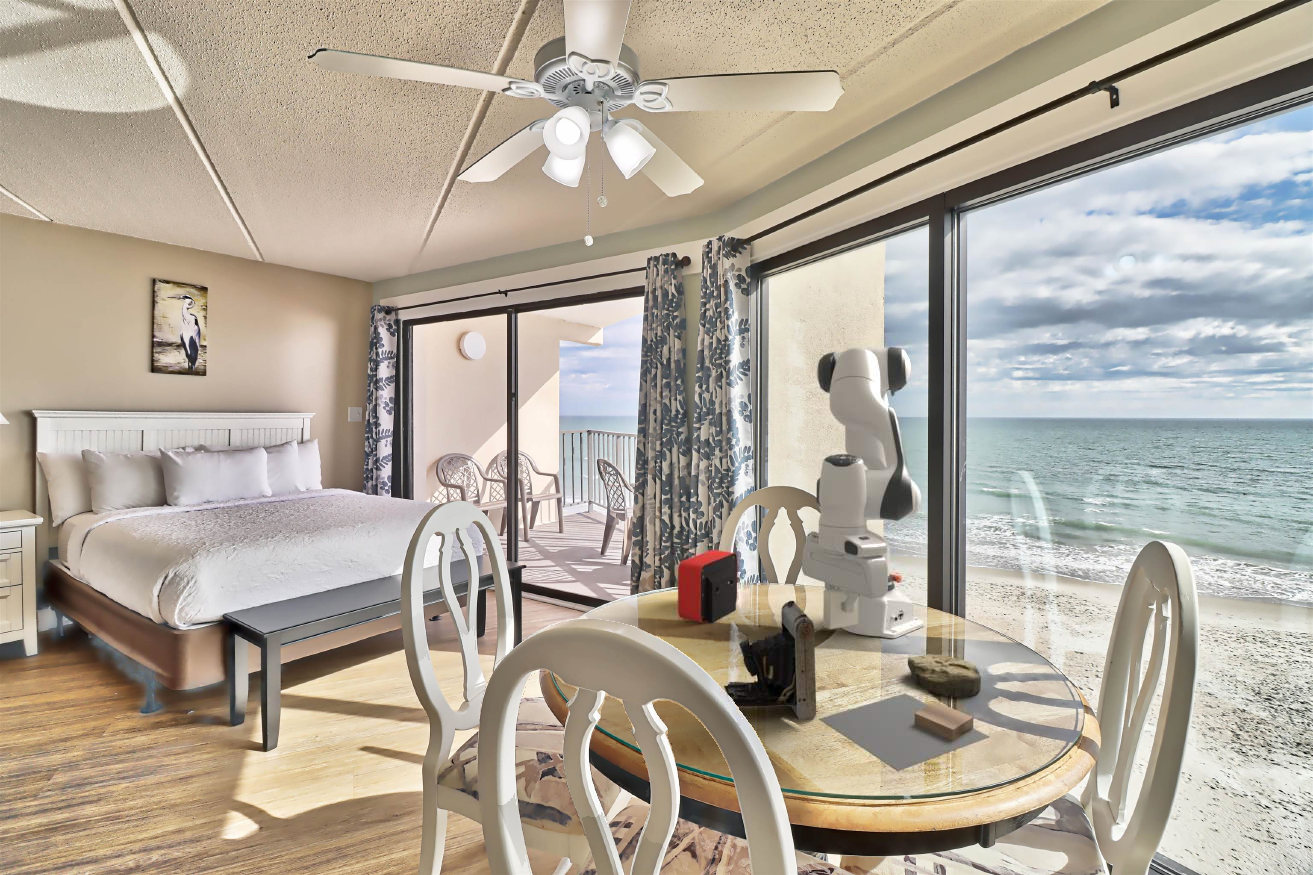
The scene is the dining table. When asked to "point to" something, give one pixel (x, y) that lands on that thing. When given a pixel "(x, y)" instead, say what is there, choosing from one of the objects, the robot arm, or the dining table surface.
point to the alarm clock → (707, 586)
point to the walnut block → (944, 721)
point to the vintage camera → (781, 667)
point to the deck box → (837, 610)
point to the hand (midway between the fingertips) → (841, 609)
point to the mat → (896, 732)
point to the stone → (945, 675)
